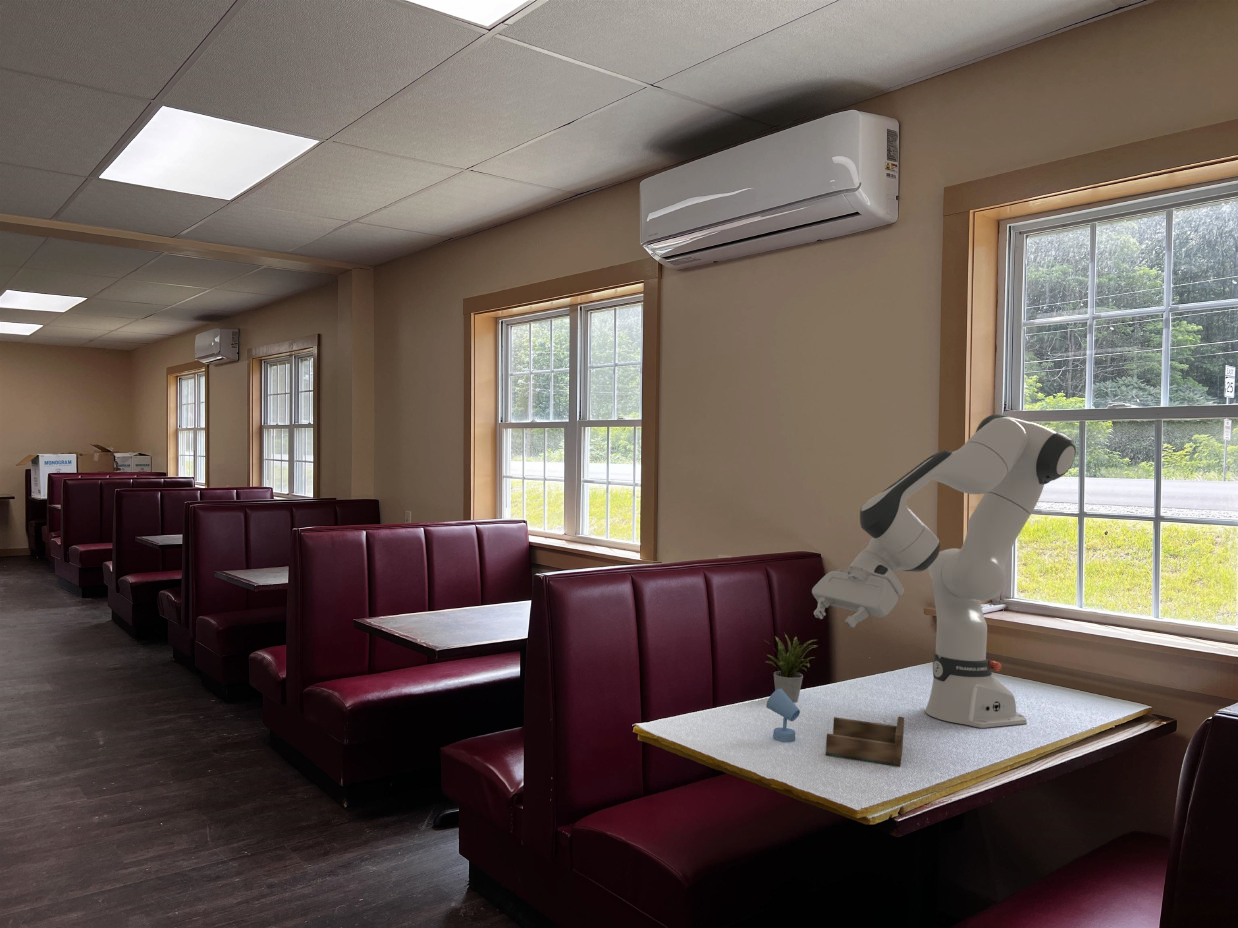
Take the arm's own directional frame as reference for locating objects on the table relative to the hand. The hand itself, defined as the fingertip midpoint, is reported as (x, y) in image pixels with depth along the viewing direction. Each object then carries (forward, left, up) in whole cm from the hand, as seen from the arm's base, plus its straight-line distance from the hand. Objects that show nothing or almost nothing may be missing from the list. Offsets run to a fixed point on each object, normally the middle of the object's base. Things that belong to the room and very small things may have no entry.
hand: (832, 620), depth 187 cm
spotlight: (+11, +3, -24) cm, 27 cm away
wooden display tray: (-3, +12, -24) cm, 27 cm away
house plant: (-4, -25, -24) cm, 35 cm away
